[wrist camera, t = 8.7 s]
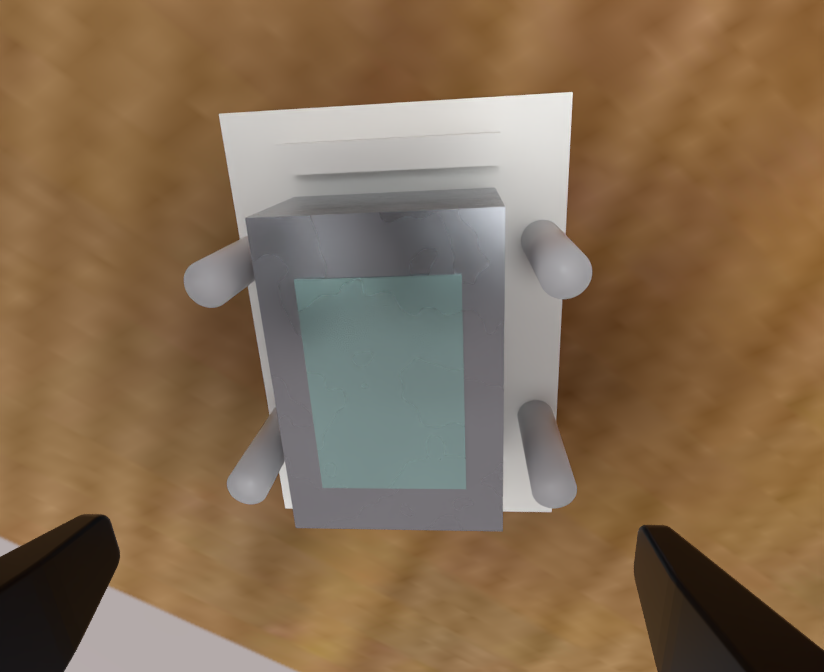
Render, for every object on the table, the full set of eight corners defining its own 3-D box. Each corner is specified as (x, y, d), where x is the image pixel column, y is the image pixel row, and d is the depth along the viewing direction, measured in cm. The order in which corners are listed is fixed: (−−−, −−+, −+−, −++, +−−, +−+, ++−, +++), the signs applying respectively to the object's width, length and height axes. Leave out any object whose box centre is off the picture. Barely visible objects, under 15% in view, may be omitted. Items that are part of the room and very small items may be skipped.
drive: (327, 451, 19) (294, 530, 16) (294, 197, 16) (243, 218, 12) (494, 451, 19) (502, 534, 15) (494, 187, 16) (505, 207, 12)
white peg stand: (293, 491, 22) (246, 592, 17) (232, 114, 16) (143, 110, 12) (547, 494, 21) (572, 602, 16) (566, 93, 15) (610, 80, 11)
